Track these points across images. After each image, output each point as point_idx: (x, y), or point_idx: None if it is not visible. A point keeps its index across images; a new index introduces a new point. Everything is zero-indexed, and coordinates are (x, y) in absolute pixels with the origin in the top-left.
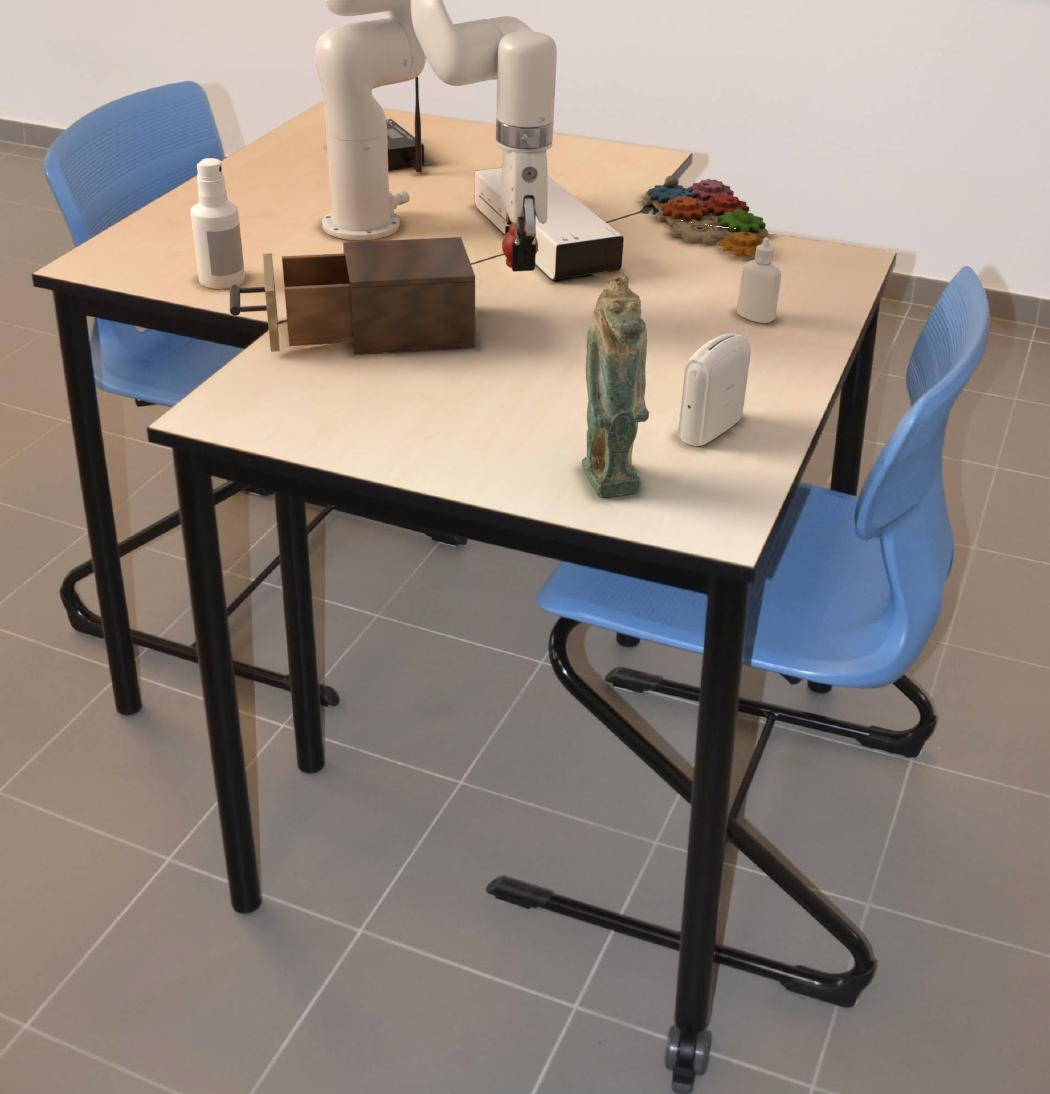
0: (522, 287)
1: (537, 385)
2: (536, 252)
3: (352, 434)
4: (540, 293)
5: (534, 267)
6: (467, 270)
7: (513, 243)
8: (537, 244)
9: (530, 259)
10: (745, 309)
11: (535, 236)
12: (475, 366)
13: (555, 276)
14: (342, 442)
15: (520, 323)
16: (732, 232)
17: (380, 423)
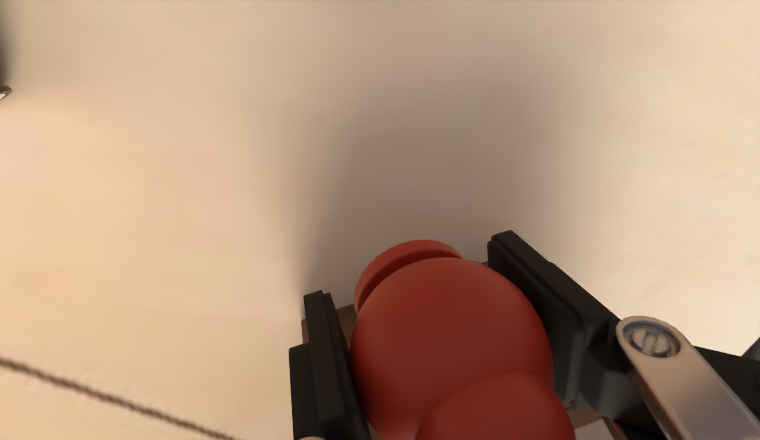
0: (118, 199)
1: (684, 112)
2: (473, 264)
3: (702, 341)
4: (149, 136)
5: (515, 235)
6: (602, 427)
7: (587, 406)
8: (486, 290)
9: (568, 277)
10: None
11: (704, 361)
12: (577, 241)
13: (7, 89)
14: (713, 345)
15: (385, 178)
16: None
17: (692, 323)
